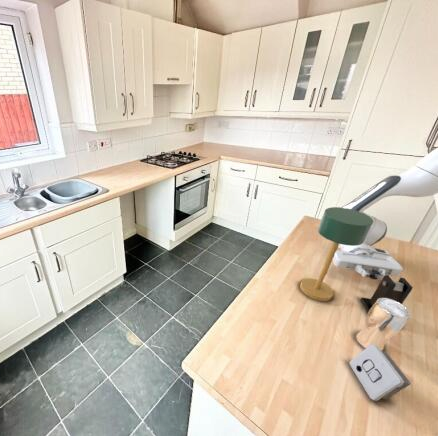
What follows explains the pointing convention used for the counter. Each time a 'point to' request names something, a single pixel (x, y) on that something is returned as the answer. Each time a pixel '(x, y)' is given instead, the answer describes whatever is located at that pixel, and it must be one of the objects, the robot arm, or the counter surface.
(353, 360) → the electrical switch
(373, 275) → the switch lever
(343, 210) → the desk lamp
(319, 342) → the counter surface
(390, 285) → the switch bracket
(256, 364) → the counter surface
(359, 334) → the beer glass
